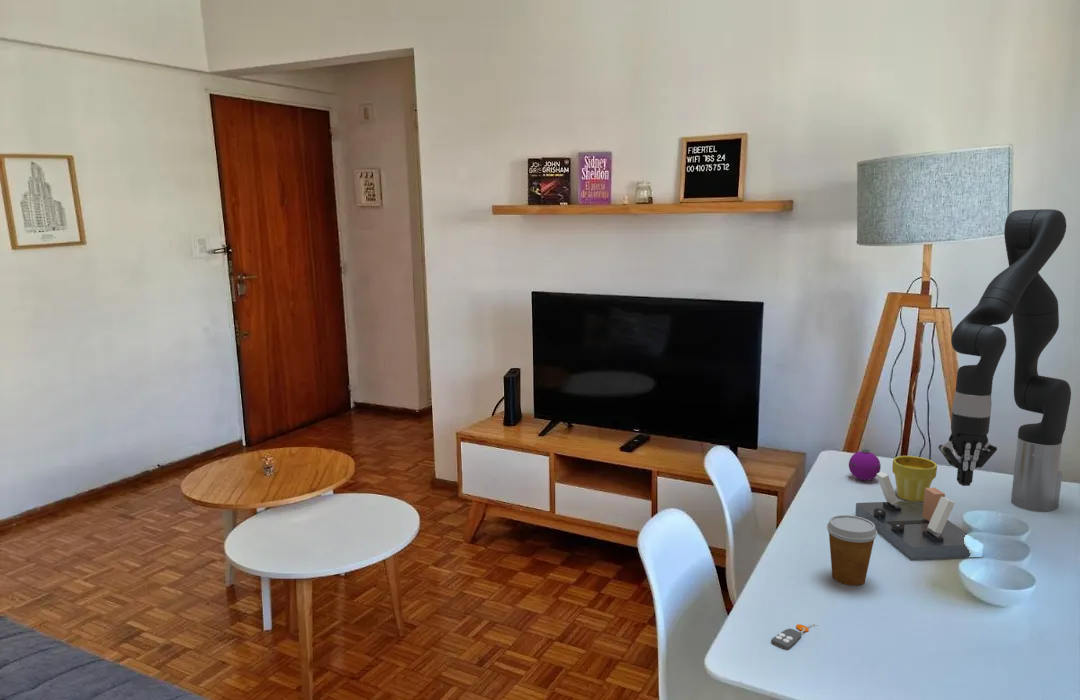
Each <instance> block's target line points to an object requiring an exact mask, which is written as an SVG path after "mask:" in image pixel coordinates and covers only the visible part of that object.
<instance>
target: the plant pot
mask: <svg viewBox="0 0 1080 700" xmlns="http://www.w3.org/2000/svg"><path fill="white" fill-rule="evenodd" d="M937 470H938V465H937V463H936V462H935V461H933V460H931V459H929V458H926V457H921V456H916V455H915V456H914V455H898V456H895V457H894V458H893V459H892V473H893V474H894V476H895V477H894V478H895V484H896V485H895V486H896V492H897V496H898V497H899V498H900V499H902V500H903V501H920V502H921V503H922V502H924V492H925V488H931V485H932V482H933V480H934V479H935V478H936V477H937Z"/></svg>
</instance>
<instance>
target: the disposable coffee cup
mask: <svg viewBox="0 0 1080 700" xmlns="http://www.w3.org/2000/svg"><path fill="white" fill-rule="evenodd" d="M826 529H827V532H828V538H829V539H828V542H829V551H830V552H829V553H830V562H831V563H830V565H831V566H830V567H831V576H832V579H834V581H836V582H838V583H840V584H843V585H847V586H861V585H863V584H865V582H866V579H867V575H868V568H869V565H870V559H871V555H872V551H873V546H874V541H875V539H876V537H877V535H878V533H877V530H876V528H875V525H874V523H872V522H871V521H869V520H867V519H865V518H862V517H858V516H857V515H851V514H838V515H833V516H832V517H830V518H829V521H828V522H827V523H826Z"/></svg>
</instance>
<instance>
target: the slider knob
mask: <svg viewBox="0 0 1080 700" xmlns="http://www.w3.org/2000/svg"><path fill="white" fill-rule="evenodd" d="M941 496H942V497H945V498H946V493H945V492H943V491H941V490H939V489H938V488H936V487H930V488H925V492H924V501H923V516H922V517H924V518H925V519H927V520H928V521H929V522H930V520H931V518H932V516H933V513H934V511H935V509H936V507H937V505H938V502H939V500H940V498H941Z"/></svg>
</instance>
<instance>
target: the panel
mask: <svg viewBox="0 0 1080 700" xmlns="http://www.w3.org/2000/svg"><path fill="white" fill-rule="evenodd" d="M896 504H897V505H898V507H897V508H896V507H894V506H893V505H891V504H890V503H889V502H887V501H873V502H871V501H870V502H856V503H855V512H854V513H855V514H856V515H855V516H858V517H862V518H865V519H867V520H869V521H871V522H872V523H874V525H875V528H876V530H877V534H879V536H881V537H882V538H883V539H884V540H886V541H887V542H889V544H891V545H892V546H893V547H894V548H895V549H897V550H898V551H899V552H900V553H901V554H903V555H904V556H905V558H906V557H907V558H908V559H909V560H910V561H922V560H923V561H926V560H948V559H949V560H950V559H968V558H967V557H969V556H970V553H969V550H968V549H967V547H966V546H965V544H964V537H965V535H967V534H969V533H968V532H966V531H965V530H964V529H962V528H960V527H959V526H958V525H956V524H955V523H953V522H951V521H950V520H947V522H946V524H945V526H944V528H943V531H942V533H941V534H939V533H938V534H939V535H940V537H939V538H937V537H936V536H934V535H933V534H932V533H930V532H929V531H927V527H928V525H929V521H928V520H927V519H925V518H924V517H922V516H923V504H924V502H922V501H921V502H920V501H907V500H903V501H902V500H897V503H896Z"/></svg>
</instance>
